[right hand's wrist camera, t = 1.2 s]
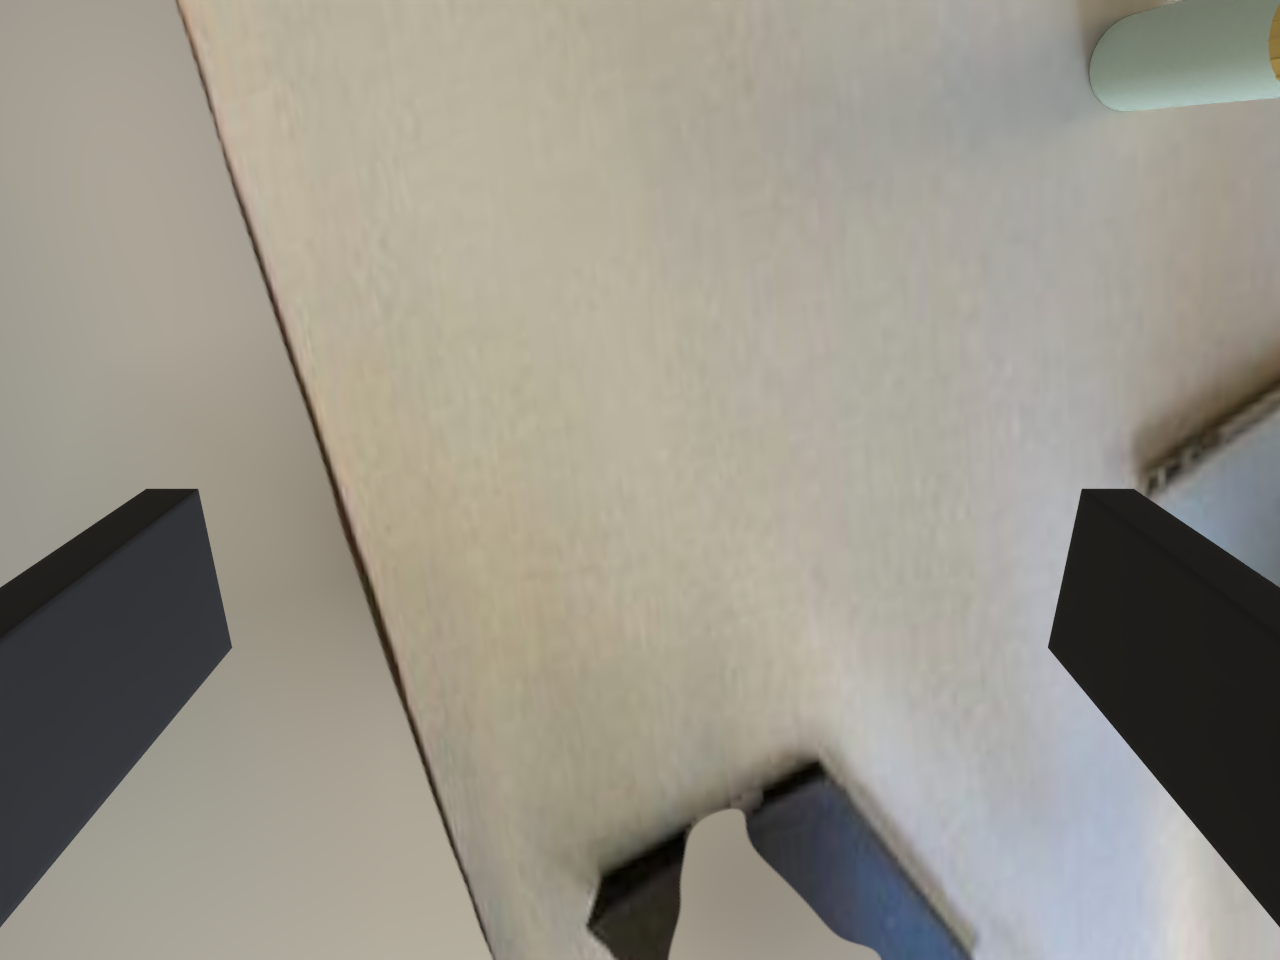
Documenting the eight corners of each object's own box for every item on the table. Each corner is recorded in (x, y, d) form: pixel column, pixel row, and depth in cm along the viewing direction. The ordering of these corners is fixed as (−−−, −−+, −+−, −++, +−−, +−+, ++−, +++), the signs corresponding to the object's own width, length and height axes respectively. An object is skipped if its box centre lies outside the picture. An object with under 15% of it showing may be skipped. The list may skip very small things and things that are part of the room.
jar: (1156, 119, 47) (1405, 101, 32) (1075, 101, 47) (1287, 75, 32) (1193, 23, 46) (1475, -44, 30) (1109, 4, 45) (1351, -73, 30)
